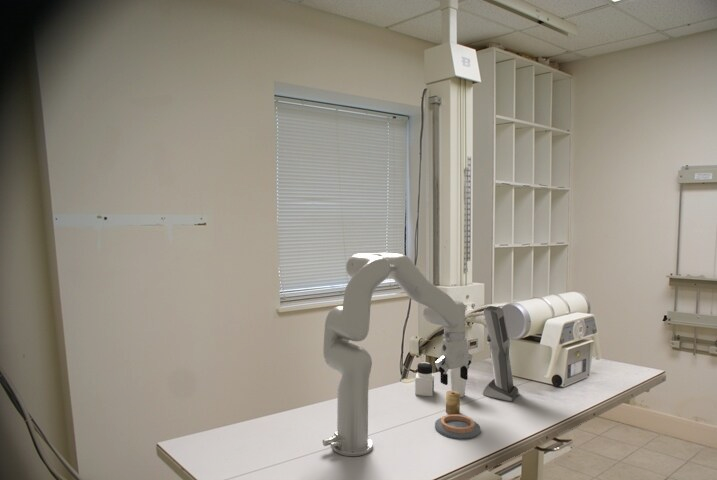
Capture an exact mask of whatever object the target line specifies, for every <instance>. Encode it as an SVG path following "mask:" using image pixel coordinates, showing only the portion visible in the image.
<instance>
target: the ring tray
mask: <svg viewBox="0 0 717 480" xmlns="http://www.w3.org/2000/svg"><path fill="white" fill-rule="evenodd" d="M434 429H435V431H436V432H437V433H439V434H440V435H442V436H444V437H447V438H450V439H454V440H456V439H457V440H470V439H474V438H476V437H478V436H479V435H480V434H481V426H480V424H479V423H478V422H476V421H475V420H473V419H472V418H471V417H469V416H466V415H463V414H458V415H456V414H447V415H444V416H442V417H440V418H437V420H436V421H435V422H434Z"/></svg>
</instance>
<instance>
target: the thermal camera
mask: <svg viewBox="0 0 717 480" xmlns="http://www.w3.org/2000/svg"><path fill="white" fill-rule="evenodd" d="M483 316H484V321H485V326H486V332H487V337H486V342H487V343H486V344H488V345H489V346H490V355H491V363H492V370H493V376H494V378H493V379H492V380H491V381H490V382H489V383H488V384H487V385H486V386H485V387H484V389H483V391H482V394H483V396H485V397H488V398H491V399H497V400H502V401H506V402H512V403H513V402H514V400H515V399H516V398H517V396H518V395H519V389H518V387H517V386H515V385H514V379H513V373H512V372H513V371H512V365H511V357H510V353H509V351H510V347H511V346H510V344H511V343H510V337H509V333H508V328H507V323H506V318H505V313H504V310H503V308H501V307H499V306H493V305H489V306H487V307H486V308H483Z"/></svg>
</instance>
